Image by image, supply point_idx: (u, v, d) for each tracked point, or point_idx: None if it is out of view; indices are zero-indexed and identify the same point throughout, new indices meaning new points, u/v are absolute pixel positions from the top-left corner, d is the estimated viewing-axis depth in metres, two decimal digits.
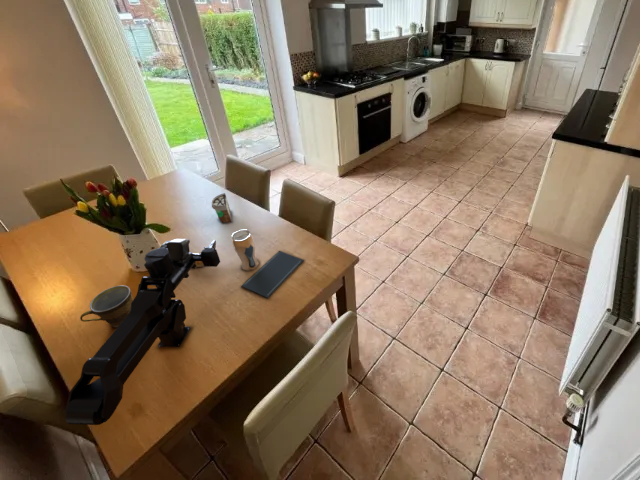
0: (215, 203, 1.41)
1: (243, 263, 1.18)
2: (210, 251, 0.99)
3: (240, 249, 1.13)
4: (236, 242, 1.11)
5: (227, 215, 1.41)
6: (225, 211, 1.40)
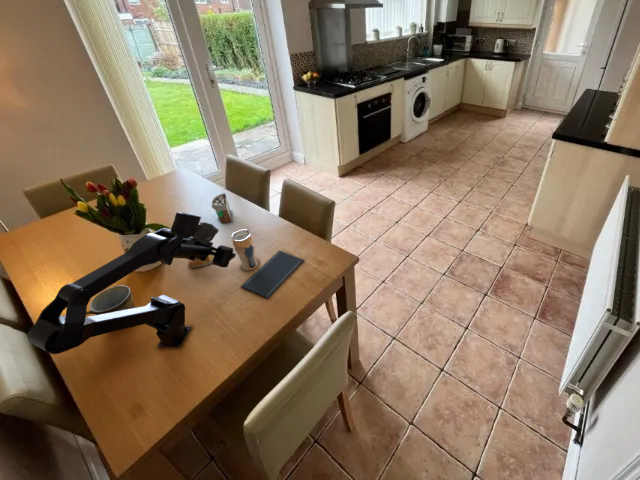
0: (215, 203, 1.41)
1: (243, 263, 1.18)
2: (228, 247, 0.98)
3: (240, 249, 1.13)
4: (236, 242, 1.11)
5: (227, 215, 1.41)
6: (225, 211, 1.40)
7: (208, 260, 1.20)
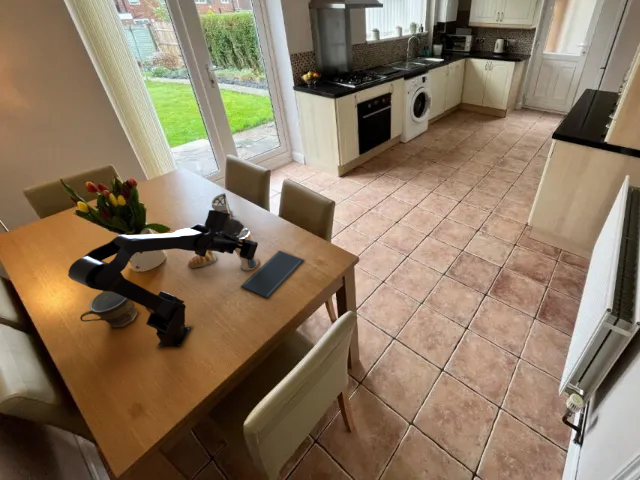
0: (215, 203, 1.41)
1: (243, 263, 1.18)
2: (253, 241, 1.08)
3: None
4: None
5: None
6: (225, 211, 1.40)
7: (208, 260, 1.20)
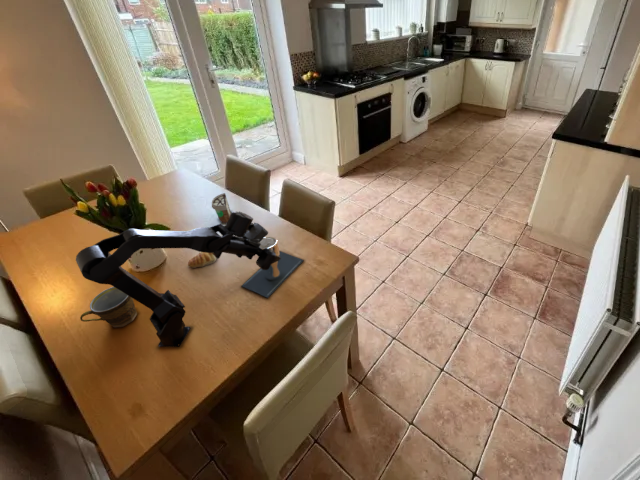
0: (215, 203, 1.41)
1: (265, 271, 1.13)
2: (271, 251, 1.03)
3: None
4: None
5: (227, 215, 1.41)
6: (225, 211, 1.40)
7: (208, 260, 1.20)
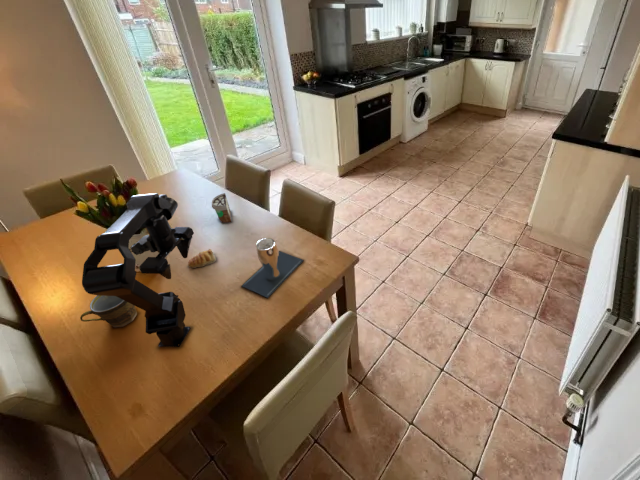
0: (215, 203, 1.41)
1: (265, 271, 1.13)
2: None
3: (261, 258, 1.08)
4: (258, 250, 1.07)
5: (227, 215, 1.41)
6: (225, 211, 1.40)
7: (208, 260, 1.21)
